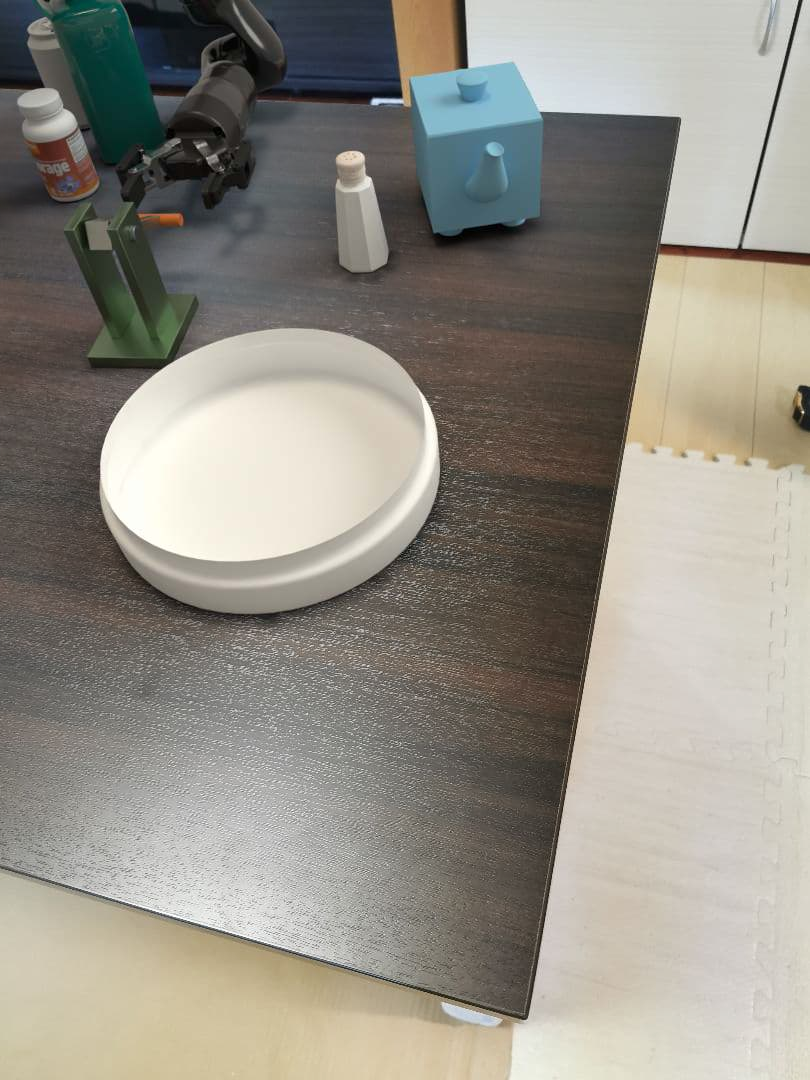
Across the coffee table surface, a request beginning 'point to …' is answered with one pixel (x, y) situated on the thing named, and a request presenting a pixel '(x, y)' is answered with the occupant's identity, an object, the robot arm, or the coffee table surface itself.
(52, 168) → the pill bottle
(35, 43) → the can
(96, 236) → the lever
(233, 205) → the coffee table surface
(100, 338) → the bracket
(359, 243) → the salt shaker
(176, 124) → the robot arm
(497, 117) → the teapot
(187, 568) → the white round dish
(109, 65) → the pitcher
